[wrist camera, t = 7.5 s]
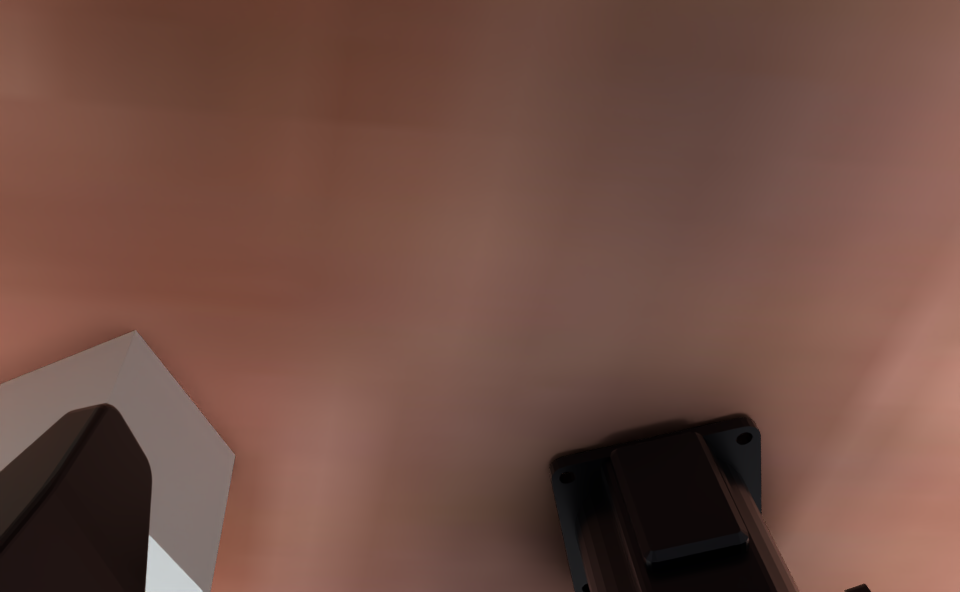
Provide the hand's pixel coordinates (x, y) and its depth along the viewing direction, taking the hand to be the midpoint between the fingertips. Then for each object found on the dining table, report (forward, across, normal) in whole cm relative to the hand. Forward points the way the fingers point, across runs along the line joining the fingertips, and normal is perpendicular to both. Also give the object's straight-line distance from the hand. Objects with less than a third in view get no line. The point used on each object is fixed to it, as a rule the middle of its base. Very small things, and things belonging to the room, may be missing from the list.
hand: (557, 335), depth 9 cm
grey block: (+12, +12, +9) cm, 19 cm away
